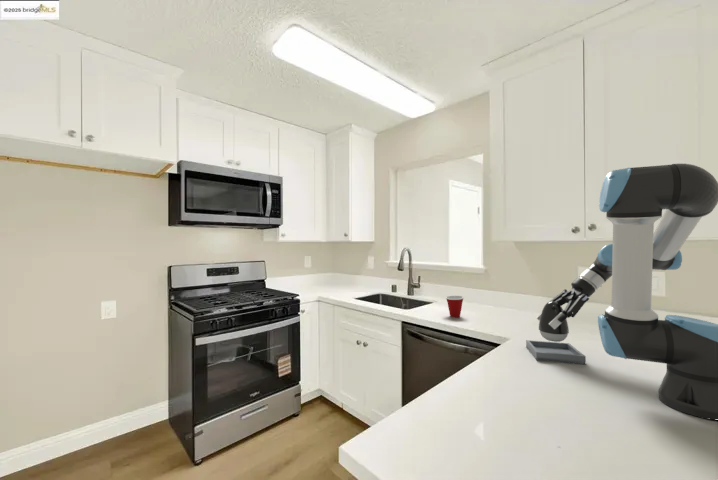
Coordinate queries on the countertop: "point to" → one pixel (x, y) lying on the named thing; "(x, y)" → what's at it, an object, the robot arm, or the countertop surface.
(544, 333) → the black egg-shaped dome
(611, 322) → the robot arm
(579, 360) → the tray
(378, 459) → the countertop surface
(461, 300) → the plastic cup
